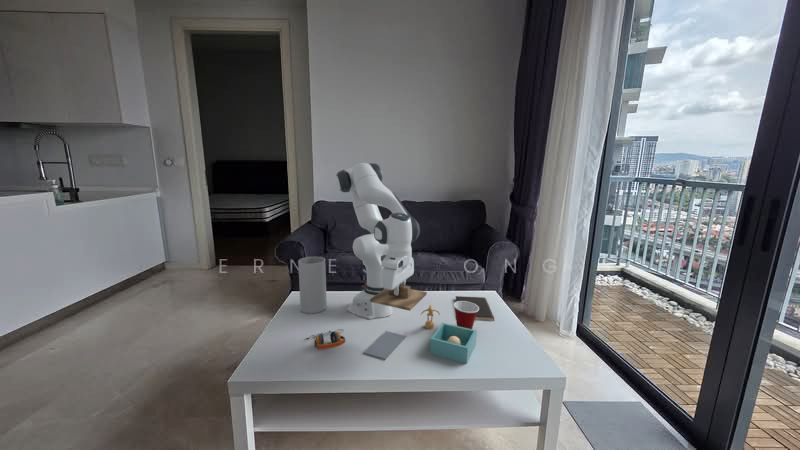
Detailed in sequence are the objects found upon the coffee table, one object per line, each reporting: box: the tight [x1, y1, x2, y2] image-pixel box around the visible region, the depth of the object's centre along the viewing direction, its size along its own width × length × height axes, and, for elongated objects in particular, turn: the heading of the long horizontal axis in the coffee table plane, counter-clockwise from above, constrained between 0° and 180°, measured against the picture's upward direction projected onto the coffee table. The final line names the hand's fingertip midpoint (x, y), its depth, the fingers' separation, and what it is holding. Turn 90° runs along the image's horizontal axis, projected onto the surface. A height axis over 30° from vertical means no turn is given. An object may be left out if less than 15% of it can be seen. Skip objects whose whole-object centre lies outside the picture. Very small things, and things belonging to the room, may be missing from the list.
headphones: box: [303, 328, 346, 350], centre depth 129 cm, size 17×5×20 cm
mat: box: [363, 330, 407, 361], centre depth 126 cm, size 20×18×1 cm
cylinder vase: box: [297, 256, 328, 315], centre depth 158 cm, size 12×12×25 cm
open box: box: [429, 322, 478, 365], centre depth 124 cm, size 14×14×7 cm
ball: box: [447, 336, 461, 345], centre depth 124 cm, size 5×5×5 cm
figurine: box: [420, 304, 441, 330], centre depth 139 cm, size 8×6×12 cm
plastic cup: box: [453, 301, 479, 330], centre depth 138 cm, size 11×11×12 cm
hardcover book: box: [455, 295, 495, 321], centre depth 162 cm, size 16×23×2 cm
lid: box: [370, 284, 428, 312], centre depth 122 cm, size 16×16×5 cm
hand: (399, 292), depth 122 cm, fingers closed on lid, 2 cm apart
